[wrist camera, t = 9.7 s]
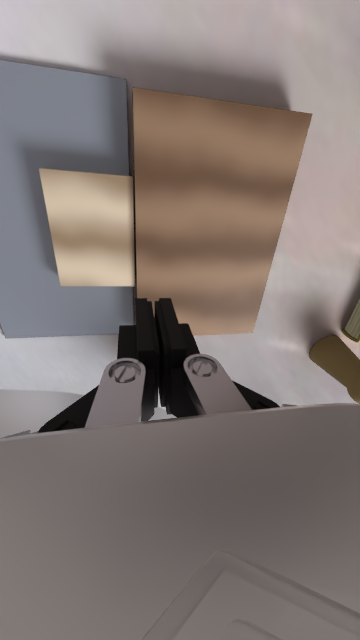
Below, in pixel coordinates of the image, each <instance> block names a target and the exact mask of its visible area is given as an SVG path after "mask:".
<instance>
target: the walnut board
mask: <svg viewBox="0 0 360 640" xmlns="http://www.w3.org/2000/svg"><path fill="white" fill-rule="evenodd" d="M132 102H133V149H134V196H135V243H136V291H137V298H147V301H152V307H153V313H154V308H155V301H159V298H171V300H172V303H173V307H174V310H175V313H176V316H177V319H178V322H179V324H180V323H188V324H189V326H190V329H191V331H192V334H193V335H215V334H237V333H253V330H254V327H255V323H256V319H257V316H258V312H259V308H260V305H261V301H262V297H263V293H264V290H265V286H266V282H267V279H268V275H269V271H270V268H271V264H272V260H273V257H274V253H275V249H276V246H277V242H278V238H279V235H280V231H281V227H282V224H283V220H284V216H285V213H286V209H287V205H288V202H289V198H290V194H291V191H292V187H293V183H294V180H295V176H296V172H297V169H298V165H299V161H300V158H301V154H302V150H303V147H304V143H305V139H306V136H307V132H308V128H309V125H310V121H311V117H312V114H310V113H303V112H296V111H290V110H283V109H276V108H269V107H262V106H256V105H249V104H242V103H235V102H229V101H222V100H215V99H208V98H201V97H195V96H188V95H181V94H174V93H168V92H161V91H154V90H147V89H140V88H134V87H133V95H132Z"/></svg>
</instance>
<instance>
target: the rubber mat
mask: <svg viewBox="0 0 360 640" xmlns="http://www.w3.org/2000/svg"><path fill="white" fill-rule="evenodd" d="M39 169H56V170H68V171H79V172H91V173H102V174H114V175H125V176H129V157H128V124H127V91H126V79H121V78H115V77H108V76H102V75H95V74H89V73H82V72H76V71H69V70H63V69H56V68H50V67H43V66H36V65H30V64H23V63H17V62H10V61H4V60H0V324H1V327H2V330H3V333H4V335H5V338H29V337H54V336H78V335H102V334H119V326H120V325H134V323H133V290H132V286H61V285H60V280H59V275H58V269H57V264H56V258H55V253H54V248H53V242H52V237H51V231H50V226H49V221H48V215H47V210H46V204H45V199H44V194H43V188H42V183H41V177H40V172H39Z"/></svg>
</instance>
